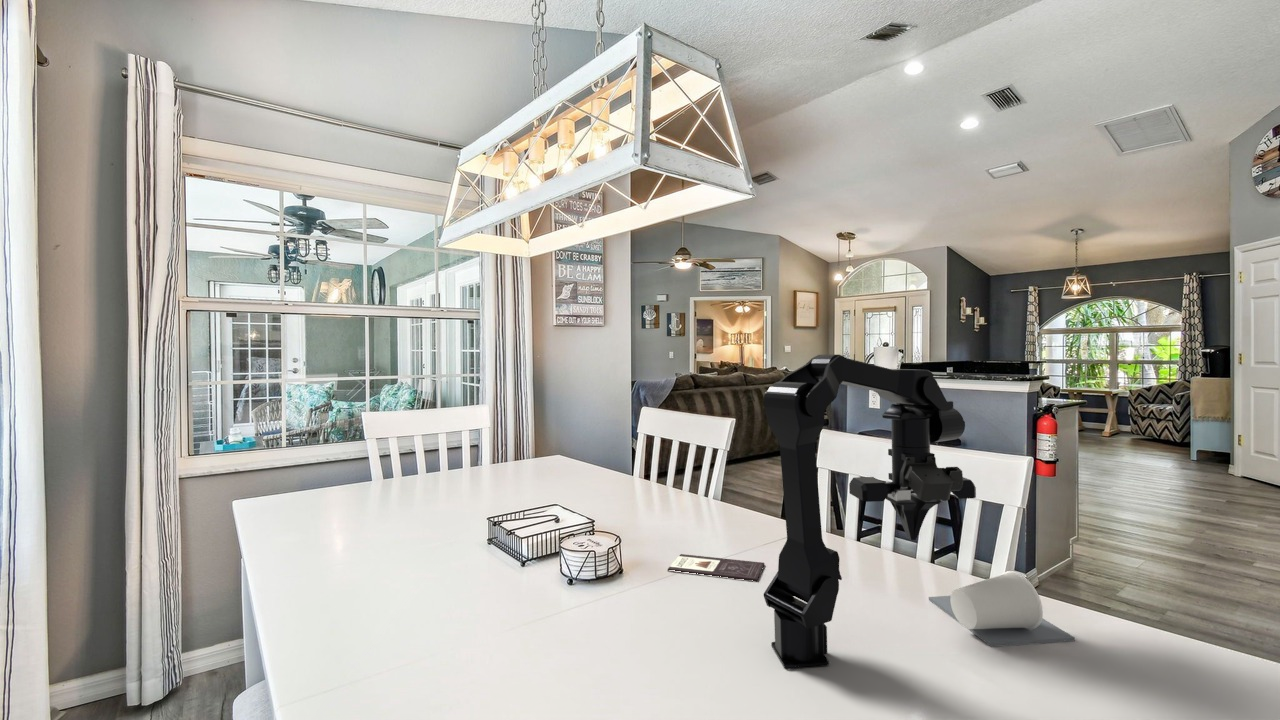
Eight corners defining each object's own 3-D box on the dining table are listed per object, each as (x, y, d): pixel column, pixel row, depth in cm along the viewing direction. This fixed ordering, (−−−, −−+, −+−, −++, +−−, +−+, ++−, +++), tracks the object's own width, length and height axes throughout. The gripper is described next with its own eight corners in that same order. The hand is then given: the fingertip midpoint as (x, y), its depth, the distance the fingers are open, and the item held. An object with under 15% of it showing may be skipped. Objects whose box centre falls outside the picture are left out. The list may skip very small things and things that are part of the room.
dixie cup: (956, 638, 90) (1013, 629, 91) (991, 639, 82) (1052, 628, 84) (937, 582, 93) (992, 573, 95) (969, 577, 86) (1028, 568, 87)
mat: (991, 646, 85) (991, 643, 85) (928, 599, 100) (928, 597, 100) (1074, 640, 85) (1074, 637, 85) (999, 595, 101) (999, 592, 101)
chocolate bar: (756, 579, 110) (667, 568, 117) (757, 584, 110) (667, 573, 117) (764, 562, 119) (680, 554, 125) (764, 567, 119) (680, 558, 125)
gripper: (877, 455, 86) (879, 559, 87) (998, 451, 87) (999, 554, 87) (847, 443, 98) (848, 535, 98) (954, 441, 98) (955, 532, 99)
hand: (912, 539), depth 95 cm, fingers closed
